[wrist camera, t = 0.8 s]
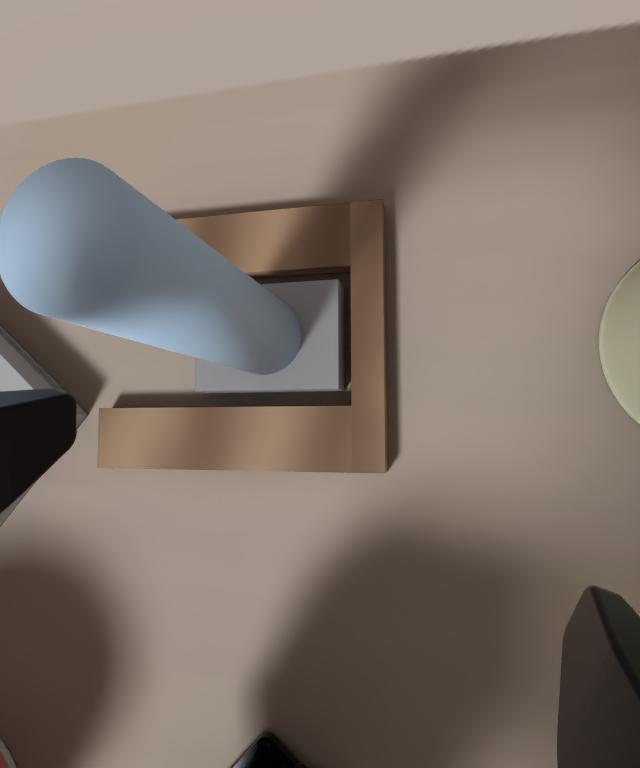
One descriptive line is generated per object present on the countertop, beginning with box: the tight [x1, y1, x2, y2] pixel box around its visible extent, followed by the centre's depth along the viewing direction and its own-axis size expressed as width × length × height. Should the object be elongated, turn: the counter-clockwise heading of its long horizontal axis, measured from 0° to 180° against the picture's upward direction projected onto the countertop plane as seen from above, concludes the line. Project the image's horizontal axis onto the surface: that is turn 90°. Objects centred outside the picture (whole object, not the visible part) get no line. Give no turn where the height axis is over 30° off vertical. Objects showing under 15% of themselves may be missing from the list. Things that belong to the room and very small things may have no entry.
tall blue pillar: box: [0, 158, 345, 393], centre depth 19 cm, size 7×5×15 cm
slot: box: [97, 199, 388, 473], centre depth 26 cm, size 14×12×1 cm
